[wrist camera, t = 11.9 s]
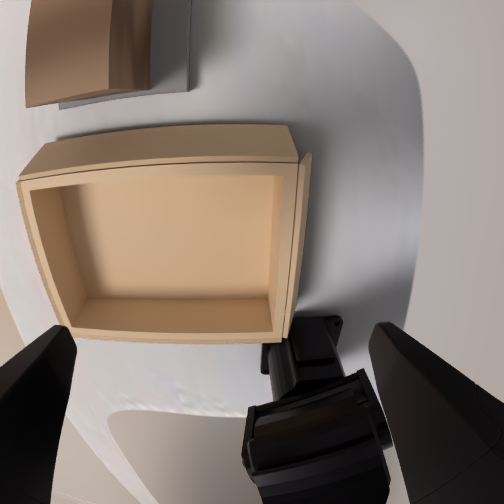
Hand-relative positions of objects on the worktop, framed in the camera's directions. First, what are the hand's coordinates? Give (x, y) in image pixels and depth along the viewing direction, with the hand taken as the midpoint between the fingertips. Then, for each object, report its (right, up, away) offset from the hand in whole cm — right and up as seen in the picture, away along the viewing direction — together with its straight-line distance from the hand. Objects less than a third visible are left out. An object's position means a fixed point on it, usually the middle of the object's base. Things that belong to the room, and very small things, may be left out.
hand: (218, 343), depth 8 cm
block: (-6, +14, +4) cm, 16 cm away
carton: (-5, +4, +11) cm, 13 cm away
